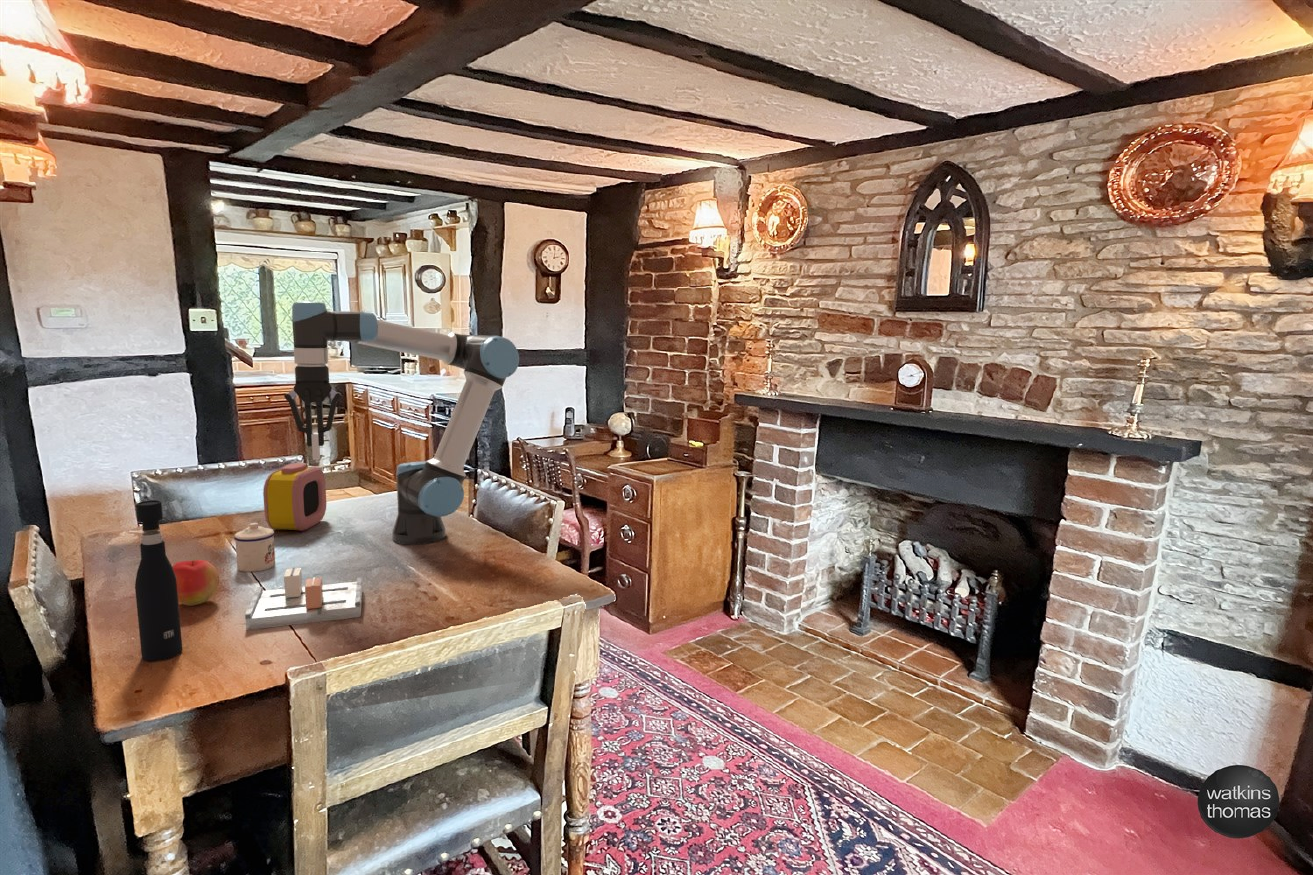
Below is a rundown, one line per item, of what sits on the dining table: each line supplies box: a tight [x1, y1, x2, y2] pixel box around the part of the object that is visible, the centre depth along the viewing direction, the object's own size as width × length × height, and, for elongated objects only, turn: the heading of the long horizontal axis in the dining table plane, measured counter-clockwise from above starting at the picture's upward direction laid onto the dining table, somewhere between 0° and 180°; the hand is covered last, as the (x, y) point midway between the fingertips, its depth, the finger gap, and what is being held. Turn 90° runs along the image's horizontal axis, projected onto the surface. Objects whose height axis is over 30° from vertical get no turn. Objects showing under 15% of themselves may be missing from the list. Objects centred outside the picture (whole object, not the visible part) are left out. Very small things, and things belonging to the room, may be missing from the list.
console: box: [244, 577, 363, 631], centre depth 157 cm, size 22×20×3 cm
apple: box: [172, 559, 220, 607], centre depth 157 cm, size 10×10×10 cm
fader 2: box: [304, 576, 323, 609], centre depth 153 cm, size 3×5×5 cm, turn 21°
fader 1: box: [283, 567, 303, 598], centre depth 159 cm, size 3×5×5 cm, turn 21°
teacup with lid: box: [233, 522, 276, 573], centre depth 183 cm, size 12×9×12 cm
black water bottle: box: [134, 499, 183, 663], centre depth 132 cm, size 6×6×30 cm
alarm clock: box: [262, 462, 327, 532], centre depth 216 cm, size 18×11×19 cm, turn 179°
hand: (316, 458), depth 176 cm, fingers closed
